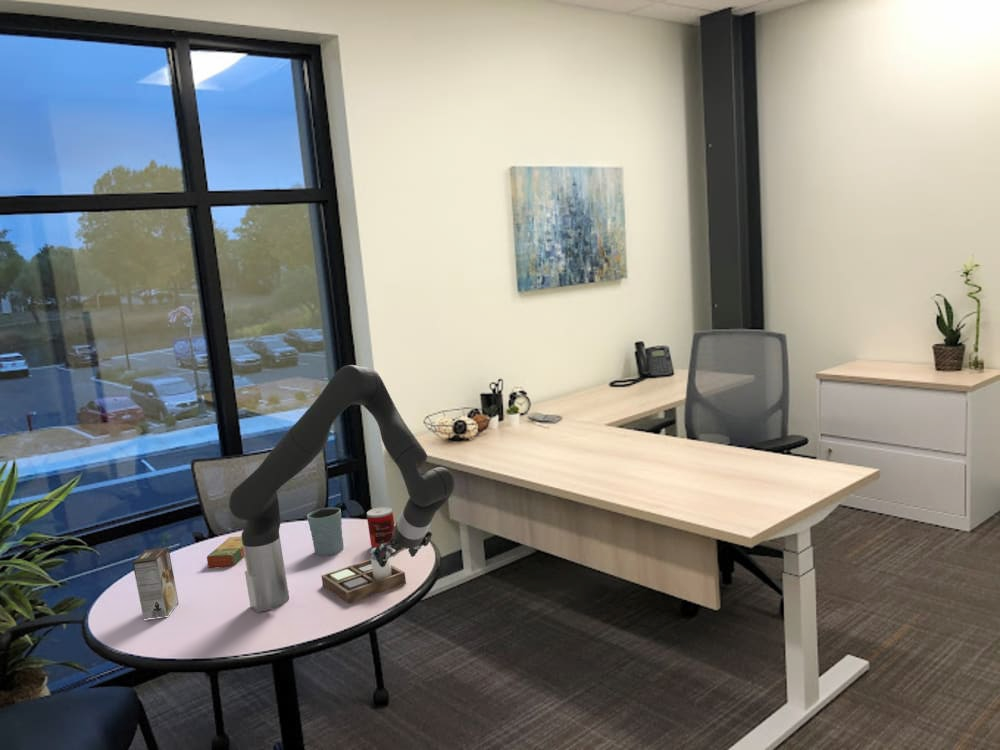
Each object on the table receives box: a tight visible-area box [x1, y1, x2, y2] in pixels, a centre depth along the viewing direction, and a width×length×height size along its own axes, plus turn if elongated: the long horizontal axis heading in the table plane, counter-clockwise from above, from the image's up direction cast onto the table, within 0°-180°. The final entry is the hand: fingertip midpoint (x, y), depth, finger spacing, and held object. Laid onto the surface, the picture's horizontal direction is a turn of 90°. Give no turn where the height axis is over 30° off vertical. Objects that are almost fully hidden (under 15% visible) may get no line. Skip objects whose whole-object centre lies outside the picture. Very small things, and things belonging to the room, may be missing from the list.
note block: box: [330, 569, 356, 582], centre depth 214 cm, size 5×5×3 cm
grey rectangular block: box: [358, 564, 372, 573], centre depth 218 cm, size 5×4×2 cm
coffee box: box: [132, 546, 180, 620], centre depth 210 cm, size 9×6×16 cm
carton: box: [206, 535, 245, 569], centre depth 247 cm, size 8×16×4 cm, turn 173°
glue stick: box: [370, 547, 392, 581], centre depth 211 cm, size 5×5×10 cm
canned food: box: [366, 506, 395, 549], centre depth 241 cm, size 8×8×11 cm
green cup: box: [306, 507, 344, 557], centre depth 243 cm, size 10×10×12 cm
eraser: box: [343, 577, 368, 591], centre depth 207 cm, size 5×4×3 cm
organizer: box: [320, 558, 407, 604], centre depth 213 cm, size 16×16×4 cm
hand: (396, 558), depth 203 cm, fingers open, 8 cm apart
